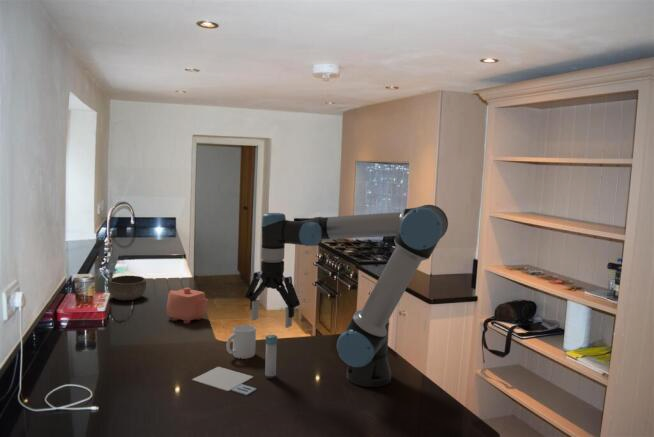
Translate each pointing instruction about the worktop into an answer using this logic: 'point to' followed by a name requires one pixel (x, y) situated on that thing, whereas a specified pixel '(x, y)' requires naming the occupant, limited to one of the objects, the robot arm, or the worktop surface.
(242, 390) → the word card
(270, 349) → the marker
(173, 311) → the teapot
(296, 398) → the worktop surface
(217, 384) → the paper
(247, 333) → the mug
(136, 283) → the bowl
